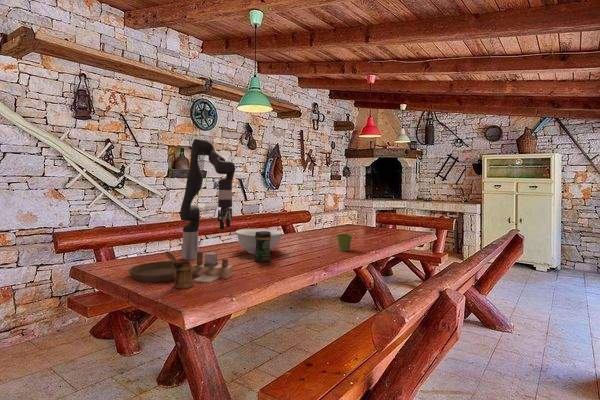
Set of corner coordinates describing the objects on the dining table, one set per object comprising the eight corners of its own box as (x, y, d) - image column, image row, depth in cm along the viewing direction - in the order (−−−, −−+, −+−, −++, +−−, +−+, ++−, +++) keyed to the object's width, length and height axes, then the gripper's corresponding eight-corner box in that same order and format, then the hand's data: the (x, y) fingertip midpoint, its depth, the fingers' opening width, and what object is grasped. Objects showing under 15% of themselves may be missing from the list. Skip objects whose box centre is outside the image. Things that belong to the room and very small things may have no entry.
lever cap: (204, 263, 195) (204, 253, 195) (208, 261, 199) (208, 252, 199) (213, 263, 194) (213, 254, 194) (216, 262, 198) (217, 252, 198)
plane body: (191, 275, 196) (192, 252, 195) (198, 272, 203) (198, 250, 202) (227, 278, 191) (227, 255, 191) (232, 274, 198) (233, 252, 197)
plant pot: (341, 248, 279) (341, 233, 279) (355, 250, 272) (355, 235, 272) (332, 250, 270) (333, 235, 269) (347, 253, 263) (347, 237, 262)
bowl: (291, 251, 264) (291, 231, 263) (262, 259, 236) (263, 236, 235) (255, 246, 281) (255, 226, 280) (225, 253, 254) (225, 231, 253)
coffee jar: (258, 263, 227) (259, 232, 226) (252, 260, 233) (253, 230, 232) (272, 261, 232) (273, 231, 231) (266, 258, 239) (266, 229, 238)
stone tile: (193, 281, 185) (193, 279, 185) (202, 276, 193) (202, 275, 193) (210, 282, 183) (210, 281, 183) (218, 278, 191) (218, 276, 191)
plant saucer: (118, 275, 194) (118, 266, 194) (173, 265, 217) (173, 257, 217) (146, 288, 173) (146, 278, 173) (203, 276, 196) (203, 267, 196)
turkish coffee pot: (160, 287, 173) (160, 249, 172) (187, 282, 183) (187, 245, 182) (170, 292, 167) (170, 252, 166) (197, 286, 177) (197, 248, 176)
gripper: (223, 197, 210) (223, 226, 210) (213, 198, 196) (213, 229, 197) (236, 197, 208) (236, 226, 209) (226, 199, 194) (226, 230, 195)
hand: (225, 228), depth 203 cm, fingers open, 8 cm apart
